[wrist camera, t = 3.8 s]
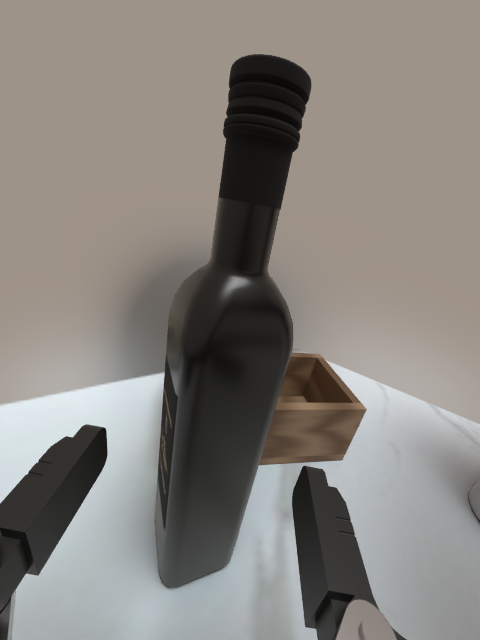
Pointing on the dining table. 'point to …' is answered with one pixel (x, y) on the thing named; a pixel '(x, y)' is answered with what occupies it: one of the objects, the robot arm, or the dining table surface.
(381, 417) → the dining table surface
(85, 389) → the dining table surface
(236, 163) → the wine bottle
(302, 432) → the bottle rack
